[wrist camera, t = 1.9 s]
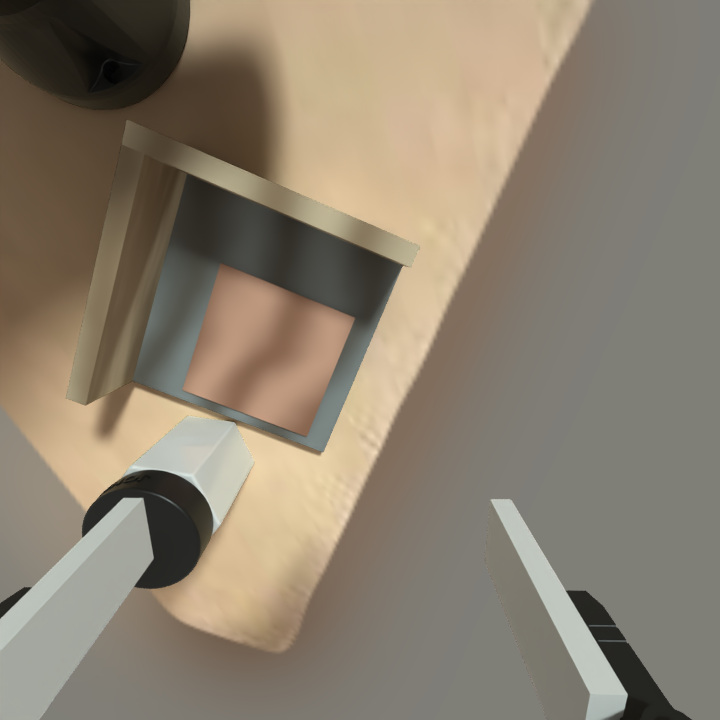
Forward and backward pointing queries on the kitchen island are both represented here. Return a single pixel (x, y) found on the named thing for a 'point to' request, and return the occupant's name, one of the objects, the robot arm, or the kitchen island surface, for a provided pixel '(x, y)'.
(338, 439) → the kitchen island surface
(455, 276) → the kitchen island surface
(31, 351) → the kitchen island surface
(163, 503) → the jar
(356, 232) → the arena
